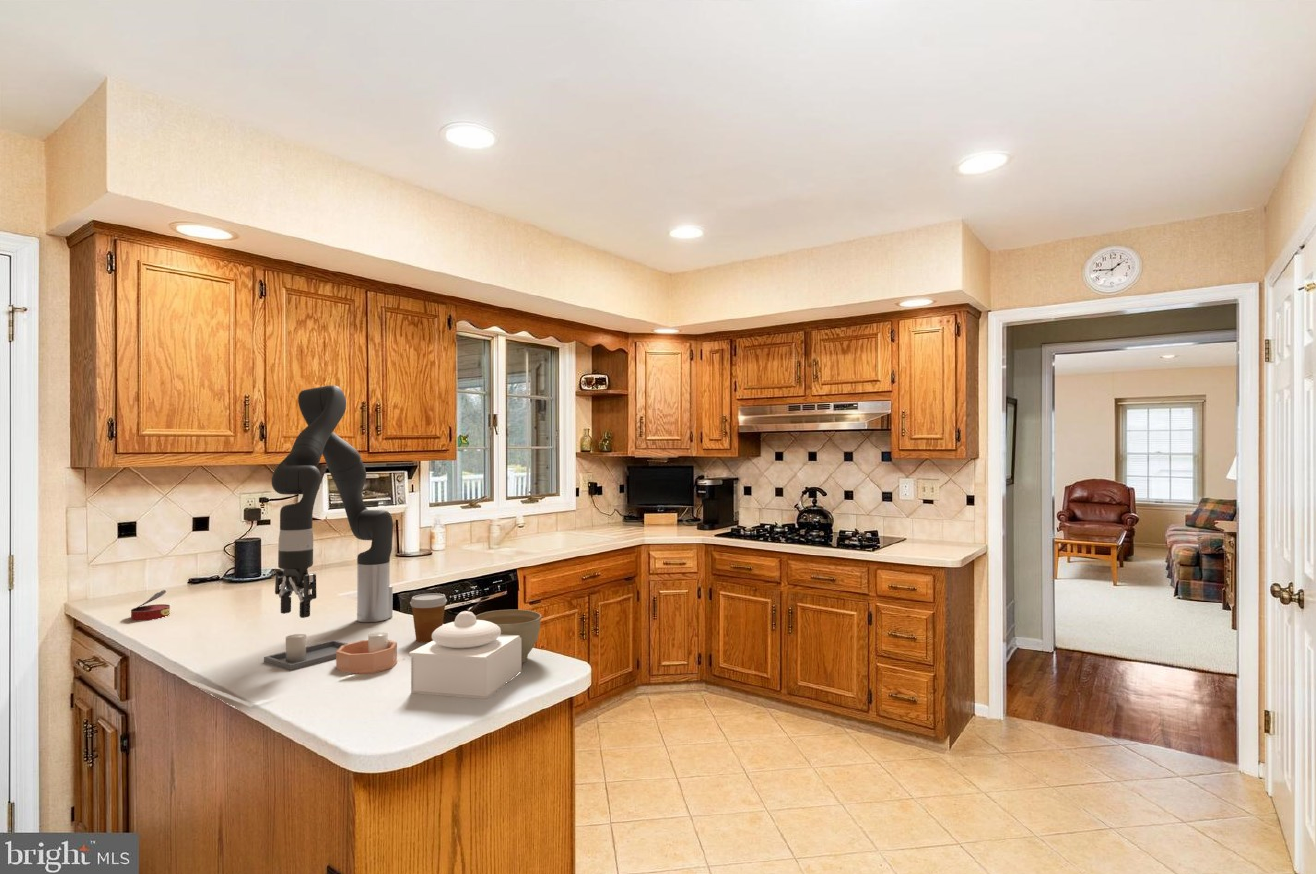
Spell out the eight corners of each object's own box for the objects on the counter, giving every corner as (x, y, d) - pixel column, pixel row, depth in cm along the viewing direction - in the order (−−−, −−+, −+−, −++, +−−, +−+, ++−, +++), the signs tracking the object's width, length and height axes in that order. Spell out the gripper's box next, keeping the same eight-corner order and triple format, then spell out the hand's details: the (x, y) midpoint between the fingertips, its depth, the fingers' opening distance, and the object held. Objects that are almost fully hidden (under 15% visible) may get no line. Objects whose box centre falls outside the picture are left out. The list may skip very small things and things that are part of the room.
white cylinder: (380, 656, 172) (380, 631, 172) (391, 658, 170) (391, 633, 170) (364, 660, 168) (364, 635, 168) (375, 663, 166) (375, 638, 166)
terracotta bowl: (375, 654, 176) (375, 636, 176) (408, 663, 169) (408, 644, 169) (325, 668, 165) (325, 649, 165) (358, 678, 158) (358, 658, 158)
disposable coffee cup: (412, 648, 182) (412, 601, 182) (407, 639, 190) (407, 595, 190) (450, 643, 186) (450, 598, 186) (443, 635, 194) (443, 591, 195)
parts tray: (334, 646, 183) (334, 640, 183) (361, 654, 176) (361, 647, 176) (263, 664, 168) (263, 657, 168) (290, 673, 161) (290, 665, 162)
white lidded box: (521, 673, 161) (521, 604, 161) (485, 700, 143) (485, 623, 144) (452, 668, 165) (452, 601, 165) (409, 694, 147) (409, 619, 148)
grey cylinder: (299, 657, 172) (299, 633, 172) (309, 660, 169) (309, 635, 169) (281, 662, 168) (282, 637, 168) (291, 665, 166) (291, 639, 166)
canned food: (147, 636, 213) (131, 610, 209) (131, 628, 218) (115, 603, 214) (184, 612, 222) (169, 587, 217) (168, 605, 227) (153, 581, 222)
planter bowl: (538, 670, 163) (538, 623, 163) (468, 672, 161) (468, 625, 162) (543, 650, 179) (543, 608, 179) (479, 652, 177) (479, 609, 178)
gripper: (327, 548, 168) (326, 616, 168) (295, 544, 176) (294, 608, 176) (296, 551, 162) (295, 622, 162) (265, 547, 170) (264, 614, 170)
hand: (295, 615), depth 169 cm, fingers open, 8 cm apart
